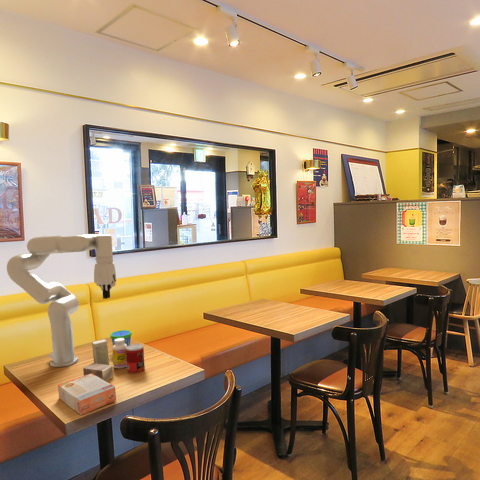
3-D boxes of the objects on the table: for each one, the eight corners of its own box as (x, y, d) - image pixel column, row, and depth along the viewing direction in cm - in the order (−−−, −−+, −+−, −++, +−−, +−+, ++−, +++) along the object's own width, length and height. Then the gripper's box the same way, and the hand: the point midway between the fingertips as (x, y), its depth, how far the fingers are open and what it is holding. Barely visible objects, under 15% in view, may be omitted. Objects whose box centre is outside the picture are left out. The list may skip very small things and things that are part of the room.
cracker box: (58, 399, 158) (80, 416, 143) (57, 384, 157) (79, 399, 142) (93, 386, 167) (117, 401, 152) (91, 372, 167) (115, 386, 152)
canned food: (140, 373, 179) (138, 349, 178) (123, 373, 180) (122, 349, 179) (147, 367, 186) (146, 344, 185) (131, 366, 188) (130, 343, 187)
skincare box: (107, 363, 193) (105, 338, 192) (109, 366, 189) (107, 340, 188) (93, 366, 189) (91, 341, 188) (95, 369, 186) (93, 343, 185)
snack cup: (130, 356, 201) (129, 336, 200) (108, 358, 200) (107, 338, 199) (134, 346, 216) (133, 327, 216) (114, 348, 215) (113, 329, 214)
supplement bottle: (116, 370, 184) (114, 342, 183) (111, 365, 189) (109, 339, 188) (130, 366, 188) (128, 339, 187) (125, 362, 193) (123, 336, 192)
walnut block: (103, 382, 171) (83, 379, 175) (113, 376, 177) (93, 373, 181) (103, 370, 171) (83, 368, 175) (112, 365, 176) (92, 363, 181)
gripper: (86, 260, 190) (88, 298, 192) (111, 261, 184) (113, 300, 186) (98, 259, 197) (100, 295, 199) (122, 259, 191) (124, 297, 193)
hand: (106, 298), depth 192 cm, fingers closed
